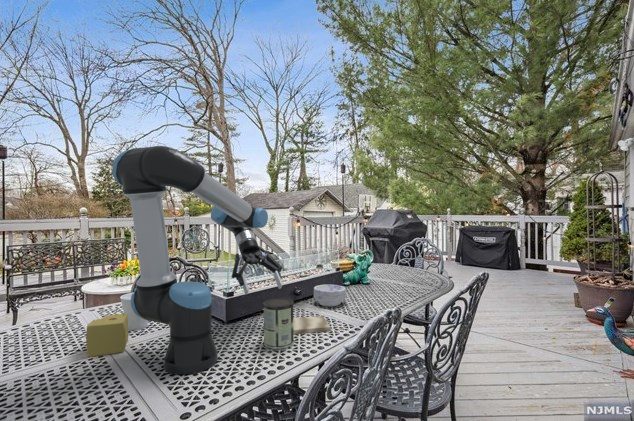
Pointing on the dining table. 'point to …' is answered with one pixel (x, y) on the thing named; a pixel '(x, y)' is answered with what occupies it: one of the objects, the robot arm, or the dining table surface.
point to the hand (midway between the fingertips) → (264, 289)
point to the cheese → (107, 335)
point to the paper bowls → (329, 294)
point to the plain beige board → (310, 325)
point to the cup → (132, 314)
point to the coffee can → (278, 323)
